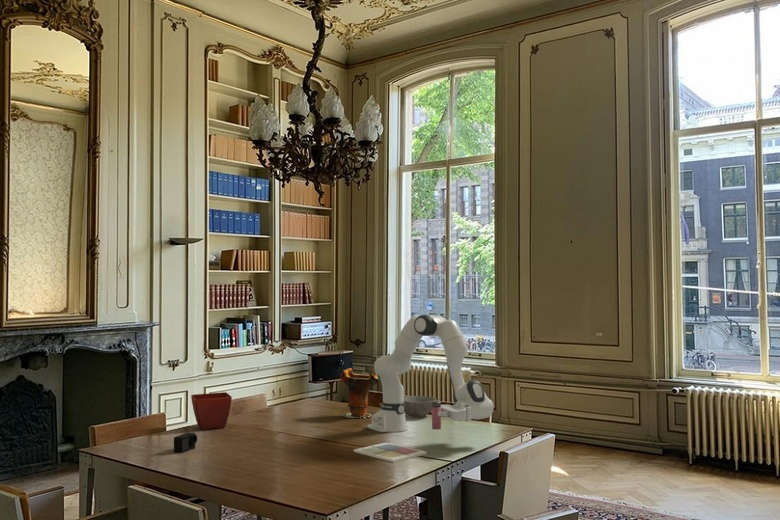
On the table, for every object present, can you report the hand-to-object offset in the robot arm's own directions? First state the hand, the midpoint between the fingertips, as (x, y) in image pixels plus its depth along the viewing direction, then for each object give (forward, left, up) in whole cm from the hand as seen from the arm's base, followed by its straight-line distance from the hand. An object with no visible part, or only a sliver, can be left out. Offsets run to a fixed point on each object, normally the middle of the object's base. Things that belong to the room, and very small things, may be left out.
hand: (434, 413), depth 289 cm
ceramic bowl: (-64, +53, -17) cm, 84 cm away
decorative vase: (-87, +29, -17) cm, 94 cm away
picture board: (-10, -19, -16) cm, 27 cm away
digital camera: (-79, -82, -17) cm, 115 cm away
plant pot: (-121, -48, -17) cm, 131 cm away
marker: (0, +1, -7) cm, 7 cm away
